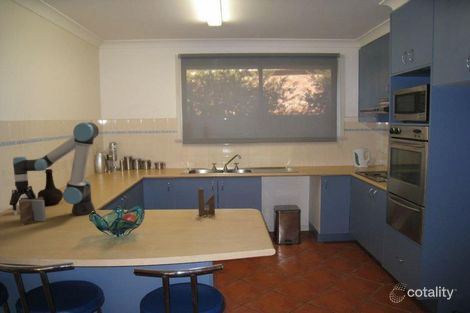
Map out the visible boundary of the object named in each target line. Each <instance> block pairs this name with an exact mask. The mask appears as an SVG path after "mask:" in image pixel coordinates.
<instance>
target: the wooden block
mask: <svg viewBox="0 0 470 313" xmlns="http://www.w3.org/2000/svg"><path fill="white" fill-rule="evenodd" d="M204 191H205V190H204V188H203V187H200V188H198V189H197V194H198V199H197V200H198V216H200V217H201V216H214V215H216V210H215V209H216V208H215V207H216V205H215V204H216V203H215V193H214V192H213V193H211V195H210V196H209V197H208V199H206V200H205V195H204V194H205V192H204ZM205 206H208V208H205Z"/></svg>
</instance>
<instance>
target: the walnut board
mask: <svg viewBox="0 0 470 313" xmlns="http://www.w3.org/2000/svg"><path fill="white" fill-rule="evenodd" d="M32 200H43V197H39V198H37V197H36V198H35V199H32ZM19 208H20V209H19ZM18 209H19V218H20V219H21V220H20V225H21V224H25V225H27V224H26V223H28V222H30V223H32V222H31V221H33V222H35V221H34V213H33V211H32V209H31V201H25V202H22V203H19V202H18ZM28 224H29V223H28Z"/></svg>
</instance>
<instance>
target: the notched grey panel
mask: <svg viewBox="0 0 470 313" xmlns="http://www.w3.org/2000/svg"><path fill="white" fill-rule="evenodd" d="M25 201H31V209H32V211H33V213H34V221H33V222H36V221H45V220H46V218H47V216H46V205H45V204H44V200H26V199H19V200H18V204H19V203H22V202H25ZM18 210H20V208H19V207H18ZM20 221H21V219H20ZM46 221H47V220H46ZM46 221H45V222H46Z"/></svg>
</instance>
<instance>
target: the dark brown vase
mask: <svg viewBox="0 0 470 313" xmlns="http://www.w3.org/2000/svg"><path fill="white" fill-rule="evenodd" d="M44 173H45V186H44V188H43V189H41V190H39V191H38V192H37V195H36V198H39V197H43V200H44V204H45V206H54V204H55V205H57V204H59V203H61V201H62V200H63V191H62V190H60V189H59V188H57V187H56V185H55V181H54V176H53V173H54V171H53V169H52V168H46V170H44Z"/></svg>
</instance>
